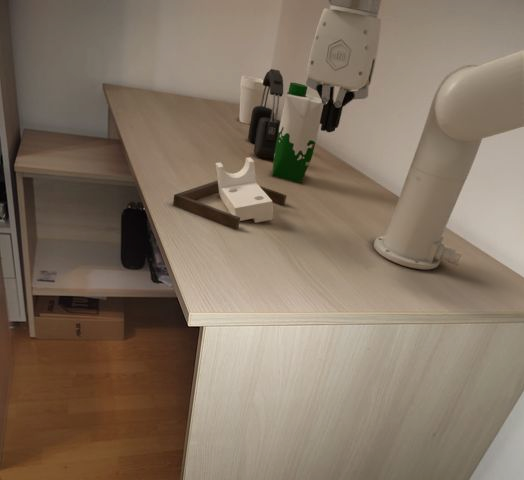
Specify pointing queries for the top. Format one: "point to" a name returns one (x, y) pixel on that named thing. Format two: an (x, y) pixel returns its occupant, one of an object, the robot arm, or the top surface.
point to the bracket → (244, 193)
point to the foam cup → (250, 96)
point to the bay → (188, 203)
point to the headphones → (266, 118)
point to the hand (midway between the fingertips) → (327, 130)
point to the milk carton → (296, 134)
